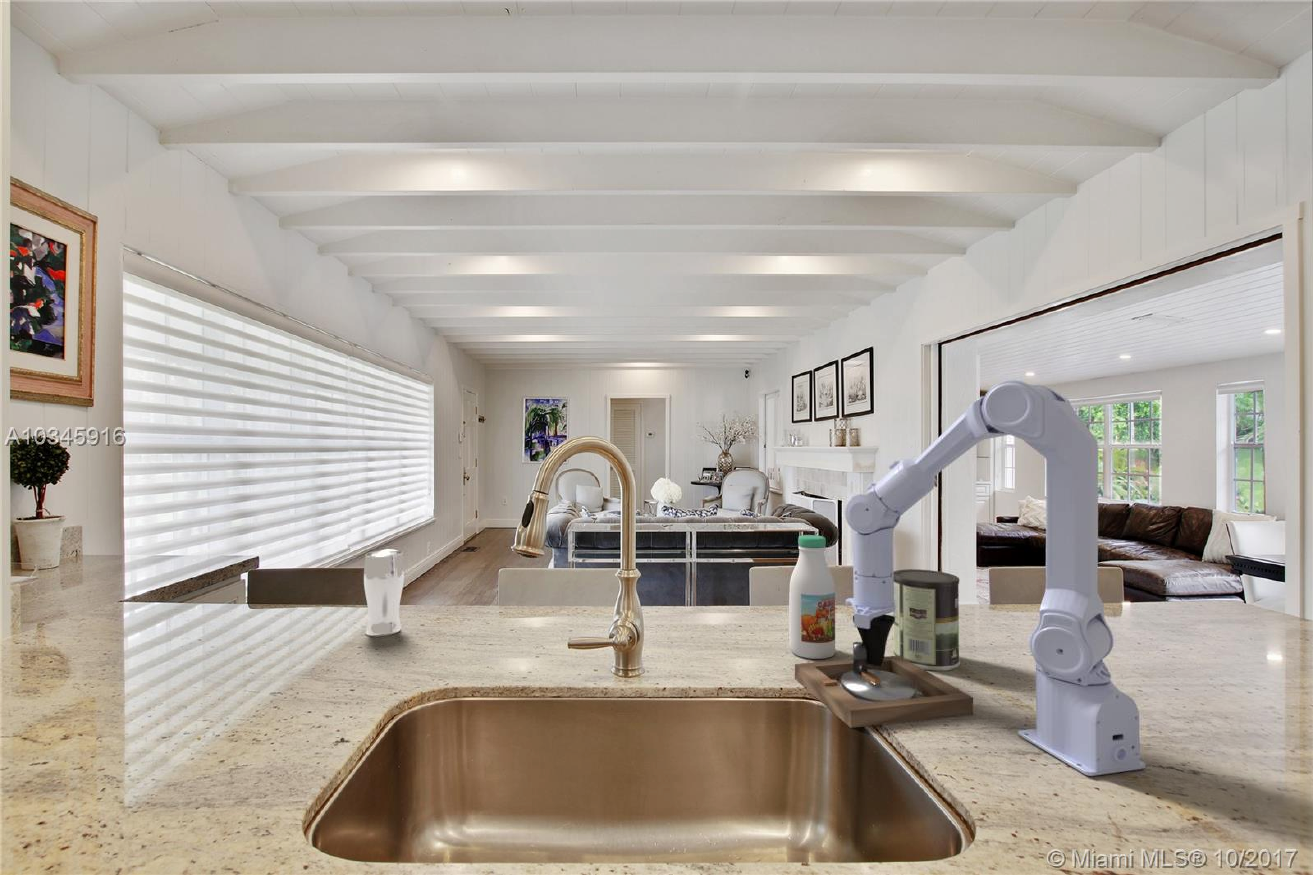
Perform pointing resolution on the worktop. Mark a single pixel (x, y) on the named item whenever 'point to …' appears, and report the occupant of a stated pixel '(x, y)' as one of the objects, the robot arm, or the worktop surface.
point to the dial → (874, 681)
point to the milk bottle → (812, 602)
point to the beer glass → (383, 591)
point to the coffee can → (926, 618)
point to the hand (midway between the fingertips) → (874, 664)
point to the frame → (936, 704)
